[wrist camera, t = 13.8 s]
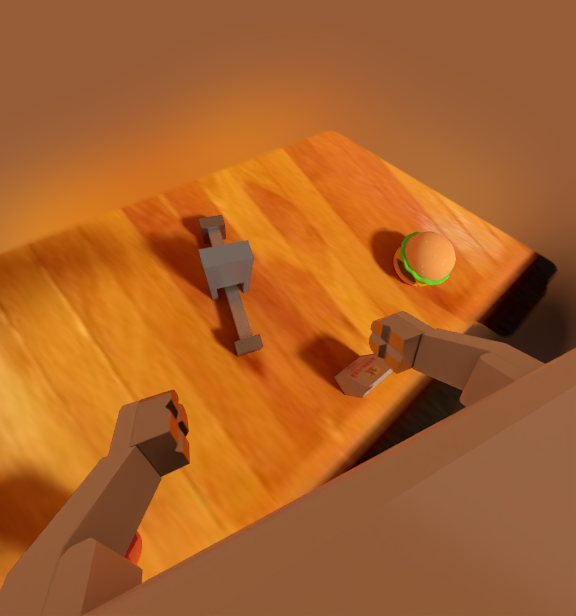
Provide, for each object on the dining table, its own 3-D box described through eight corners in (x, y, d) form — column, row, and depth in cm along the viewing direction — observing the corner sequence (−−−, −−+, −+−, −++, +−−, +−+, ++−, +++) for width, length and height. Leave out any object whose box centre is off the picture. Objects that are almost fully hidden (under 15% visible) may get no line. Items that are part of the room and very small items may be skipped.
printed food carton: (371, 372, 43) (409, 372, 34) (345, 394, 41) (377, 400, 32) (359, 356, 44) (393, 350, 34) (333, 377, 42) (361, 377, 32)
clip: (213, 300, 41) (203, 268, 28) (209, 286, 41) (198, 249, 29) (248, 291, 42) (253, 257, 30) (244, 278, 43) (247, 240, 31)
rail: (260, 349, 40) (263, 346, 36) (237, 356, 39) (237, 354, 35) (223, 230, 45) (221, 214, 41) (201, 233, 44) (198, 218, 39)
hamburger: (376, 257, 51) (403, 235, 43) (411, 235, 55) (441, 211, 47) (410, 302, 50) (444, 287, 42) (443, 276, 54) (480, 258, 45)
